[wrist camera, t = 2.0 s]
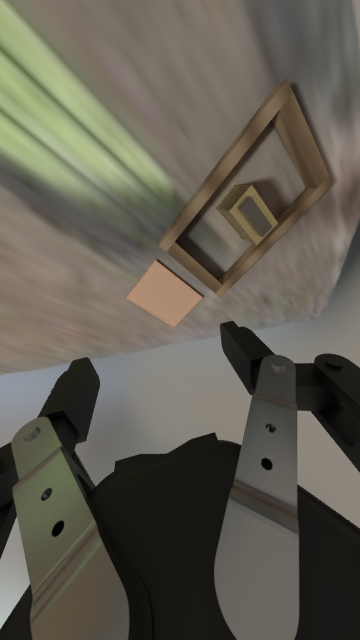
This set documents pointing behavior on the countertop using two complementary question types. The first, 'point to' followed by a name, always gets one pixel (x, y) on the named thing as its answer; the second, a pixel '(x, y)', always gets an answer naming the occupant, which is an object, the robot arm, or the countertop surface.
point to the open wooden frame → (293, 136)
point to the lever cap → (247, 213)
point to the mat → (164, 294)
